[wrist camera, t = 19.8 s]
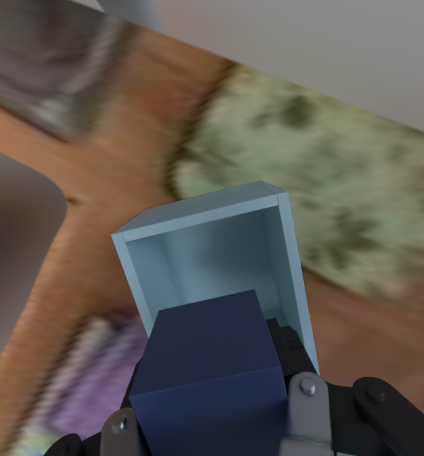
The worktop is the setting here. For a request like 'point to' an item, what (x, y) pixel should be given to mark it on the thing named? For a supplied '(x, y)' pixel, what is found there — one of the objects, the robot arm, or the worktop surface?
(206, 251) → the light blue storage bin
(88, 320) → the worktop surface
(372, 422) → the robot arm
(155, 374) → the block
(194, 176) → the worktop surface
